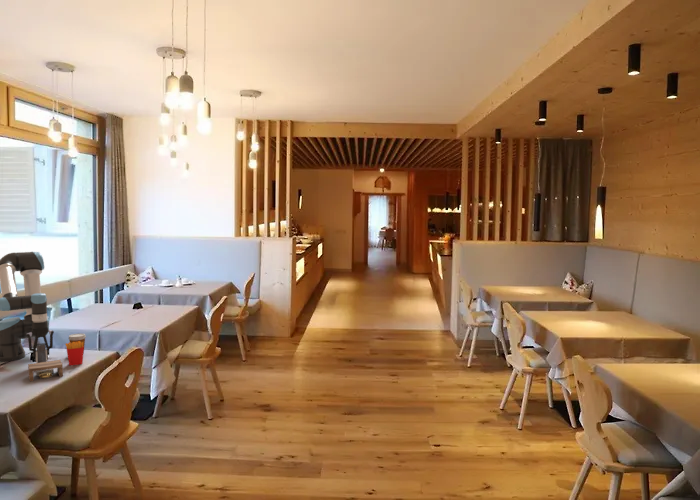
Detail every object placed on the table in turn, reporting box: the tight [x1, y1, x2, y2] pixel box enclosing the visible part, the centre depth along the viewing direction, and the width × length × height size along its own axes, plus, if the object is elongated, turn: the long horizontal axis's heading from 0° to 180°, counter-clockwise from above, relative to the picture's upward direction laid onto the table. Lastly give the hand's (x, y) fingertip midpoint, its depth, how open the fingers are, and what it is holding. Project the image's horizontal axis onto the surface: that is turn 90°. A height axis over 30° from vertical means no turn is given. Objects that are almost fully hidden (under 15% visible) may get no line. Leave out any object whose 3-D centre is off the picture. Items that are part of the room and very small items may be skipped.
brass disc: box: [38, 372, 53, 379], centre depth 280 cm, size 6×6×2 cm
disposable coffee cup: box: [68, 332, 87, 355], centre depth 319 cm, size 10×10×12 cm
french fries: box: [65, 341, 85, 366], centre depth 300 cm, size 9×4×13 cm, turn 118°
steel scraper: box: [35, 342, 55, 377], centre depth 291 cm, size 22×8×12 cm, turn 35°
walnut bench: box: [27, 359, 64, 382], centre depth 279 cm, size 10×15×6 cm, turn 125°
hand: (41, 361), depth 298 cm, fingers closed on steel scraper, 4 cm apart
